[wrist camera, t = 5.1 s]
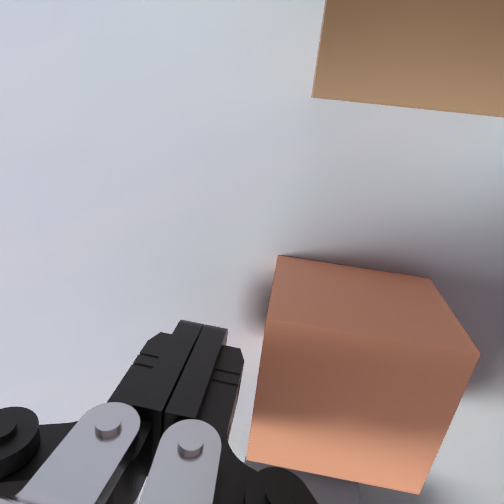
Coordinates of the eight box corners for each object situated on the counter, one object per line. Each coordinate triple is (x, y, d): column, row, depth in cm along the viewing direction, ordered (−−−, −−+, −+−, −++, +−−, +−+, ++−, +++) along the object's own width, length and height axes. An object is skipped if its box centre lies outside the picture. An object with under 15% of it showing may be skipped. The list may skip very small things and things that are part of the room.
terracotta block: (278, 253, 13) (266, 317, 9) (428, 276, 12) (480, 354, 8) (261, 368, 15) (246, 460, 11) (389, 391, 14) (418, 494, 10)
